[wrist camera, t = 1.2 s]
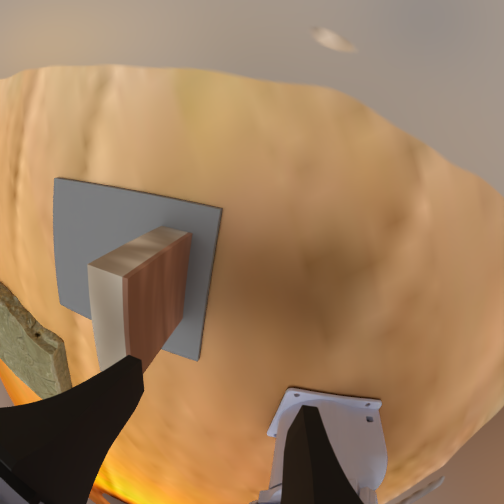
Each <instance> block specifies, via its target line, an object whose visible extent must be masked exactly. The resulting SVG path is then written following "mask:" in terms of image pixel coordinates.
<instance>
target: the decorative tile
mask: <svg viewBox="0 0 504 504" xmlns="http://www.w3.org/2000/svg"><path fill="white" fill-rule="evenodd" d="M0 358H1V359H2V361H3V362H4V363H5V364H6V365H7V366H8V367H9V368H10V369H11V370H12V371H13V372H14V374H15V375H16V376H17V377H18V378H20V379H21V380H22V381H23V382H24V383H25V384H26V385H27V386H28V387H30V388H31V389H32V390H33V391H34V392H35V393H36V394H37V395H38V396H39V397H41V398H42V399H46V398H49V397H52V396H55V395H57V394H60V393H62V392H64V391H67V390H69V389H71V388H72V384H71V378H70V373H69V368H68V363H67V357H66V351H65V346H64V342H63V341H62V339H61V338H59V337H58V336H57V335H56V334H55V333H53V332H51V331H50V330H48V329H45V328H44V327H43V326H42V325H40V323H39V322H38V321H36V319H35V318H34V317H33V316H32V315H31V313H29V312H28V311H27V310H26V309H25V308H24V307H23V306H22V305H21V303H20V302H19V300H18V298H17V297H16V296H14V295H13V294H12V293H11V292H10V290H8V289H7V288H6V287H5V286H4V285H3V284H1V283H0Z"/></svg>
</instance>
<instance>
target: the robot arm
mask: <svg viewBox="0 0 504 504" xmlns="http://www.w3.org/2000/svg"><path fill="white" fill-rule="evenodd" d="M143 392H144V383H143V372H142V360H141V359H138V358H136V357H133V356H131V355H127V356H126V357H124V358H122V359H121V360H119V361H118V362H116V363H115V364H113V365H112V366H110V367H108V368H107V369H105V370H104V371H102V372H100V373H99V374H97V375H95V376H94V377H92V378H90V379H88V380H87V381H85V382H83V383H81V384H79V385H77V386H75V387H73V388H71V389H69V390H67V391H64V392H62V393H60V394H57V395H55V396H52V397H49V398H46V399H43V400H40V401H37V402H33V403H29V404H24V405H18V406H12V407H4V408H0V504H86V503H87V500H88V497H89V494H90V491H91V489H92V486H93V483H94V481H95V478H96V476H97V474H98V472H99V469H100V467H101V465H102V463H103V461H104V459H105V456H106V454H107V452H108V450H109V449H110V447H111V445H112V444H113V442H114V441H115V439H116V438H117V436H118V435H119V433H120V432H121V430H122V429H123V427H124V426H125V424H126V423H127V421H128V420H129V418H130V417H131V415H132V414H133V412H134V410H135V409H136V407H137V405H138V403H139V401H140V399H141V396H142V394H143ZM296 393H298V394H296ZM367 403H368V404H367ZM381 405H382V402H381V400H375V399H364V398H355V397H347V396H339V395H332V394H325V393H319V392H313V391H307V390H302V389H296V388H288V389H287V390H286V392H285V394H284V396H283V399H282V401H281V403H280V405H279V407H278V410H277V412H276V414H275V416H274V418H273V420H272V422H271V424H270V426H269V429H268V431H267V435H268V436H271V437H276V443H275V450H274V457H273V464H272V470H271V477H270V483H269V489H268V490H264V491H260V494H259V499H258V500H256V501H252V502H250V503H249V504H378V501H377V495H376V492H375V490H376V489H377V488H378V487H379V485H380V484H381V482H382V481H383V479H384V476H385V473H386V469H387V461H388V456H387V449H386V444H385V439H384V434H383V429H382V424H381V420H380V415H379V411H378V409H379V408H380V407H381Z"/></svg>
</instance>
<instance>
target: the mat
mask: <svg viewBox="0 0 504 504" xmlns="http://www.w3.org/2000/svg"><path fill="white" fill-rule="evenodd" d="M222 209H223V208H218V207H214V206H209V205H205V204H200V203H195V202H190V201H186V200H181V199H176V198H171V197H166V196H161V195H156V194H150V193H145V192H140V191H135V190H129V189H124V188H118V187H113V186H107V185H101V184H95V183H89V182H83V181H77V180H71V179H64V178H54V196H53V235H54V254H55V266H56V276H57V285H58V293H59V300H60V304H61V305H63V306H65V307H66V308H68V309H70V310H72V311H74V312H76V313H78V314H80V315H82V316H84V317H86V318H88V319H91V320H92V316H91V307H90V297H89V285H88V268H87V264H89V263H91V262H92V261H94V260H96V259H98V258H100V257H101V256H103V255H105V254H107V253H109V252H111V251H113V250H115V249H116V248H118V247H120V246H122V245H124V244H126V243H128V242H130V241H132V240H134V239H136V238H138V237H140V236H142V235H144V234H146V233H148V232H150V231H152V230H154V229H156V228H158V227H160V226H165V227H169V228H173V229H177V230H181V231H185V232H189V233H192V240H191V248H190V255H189V263H188V272H187V280H186V289H185V299H184V309H183V319H182V320H181V322H180V323H179V324H178V326H177V327H176V329H175V330H174V331H173V333H172V334H171V336H170V337H169V338H168V340H167V341H166V342H165V344H164V345H163V347H162V348H161V349H162V350H165V351H168V352H171V353H174V354H177V355H179V356H182V357H185V358H188V359H192V360H195V361H198V360H199V358H200V350H201V342H202V335H203V328H204V320H205V313H206V306H207V300H208V293H209V286H210V280H211V274H212V267H213V261H214V255H215V249H216V243H217V237H218V231H219V226H220V220H221V214H222Z"/></svg>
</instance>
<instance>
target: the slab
mask: <svg viewBox="0 0 504 504" xmlns="http://www.w3.org/2000/svg"><path fill="white" fill-rule="evenodd" d="M191 240H192V233H189V232H185V231H181V230H177V229H173V228H169V227H165V226H160V227H158V228H156V229H154V230H152V231H150V232H148V233H146V234H144V235H142V236H140V237H138V238H136V239H134V240H132V241H130V242H128V243H126V244H124V245H122V246H120V247H118V248H116V249H115V250H113V251H111V252H109V253H107V254H105V255H103V256H101V257H100V258H98V259H96V260H94V261H92V262H91V263H89V264H87V268H88V285H89V297H90V307H91V316H92V324H93V331H94V338H95V344H96V350H97V356H98V361H99V366H100V371H104V370H105V369H107V368H108V367H110V366H112V365H113V364H115V363H116V362H118V361H119V360H121V359H122V358H124V357H126V356H127V355H131V356H133V357H136V358H138V359H141V360H142V372H143V373H144V372H145V371H146V369H147V368H148V366H149V365H150V363H151V362H152V361H153V359H154V358H155V356H156V355H157V354H158V352H159V351H160V349H161V348H162V347H163V345H164V344H165V342H166V341H167V340H168V338H169V337H170V336H171V334H172V333H173V331H174V330H175V329H176V327H177V326H178V324H179V323H180V322H181V320H182V319H183V309H184V299H185V289H186V280H187V272H188V263H189V255H190V248H191Z"/></svg>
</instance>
